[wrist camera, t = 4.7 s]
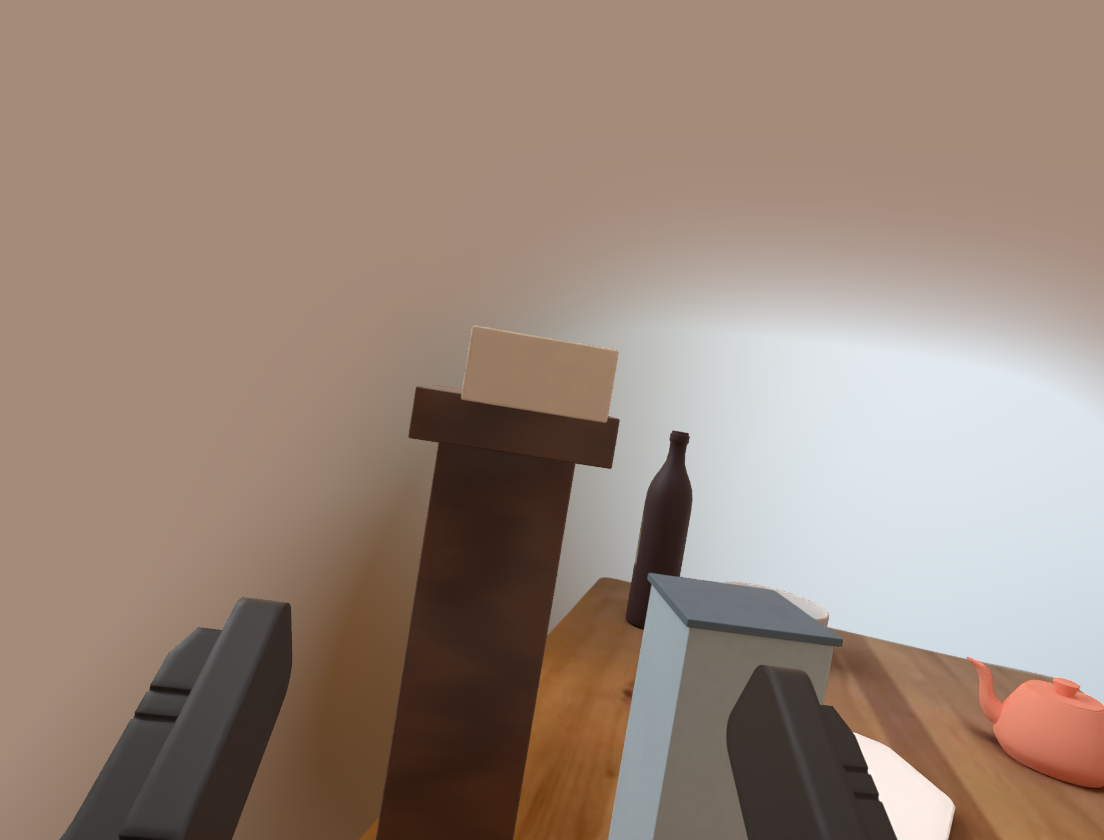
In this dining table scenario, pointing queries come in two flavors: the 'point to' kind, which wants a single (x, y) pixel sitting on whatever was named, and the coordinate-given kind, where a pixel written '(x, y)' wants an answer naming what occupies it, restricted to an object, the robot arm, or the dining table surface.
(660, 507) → the wine bottle
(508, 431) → the stand
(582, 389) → the slat
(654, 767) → the container
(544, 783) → the dining table surface
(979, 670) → the teapot
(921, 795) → the plate
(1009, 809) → the dining table surface
